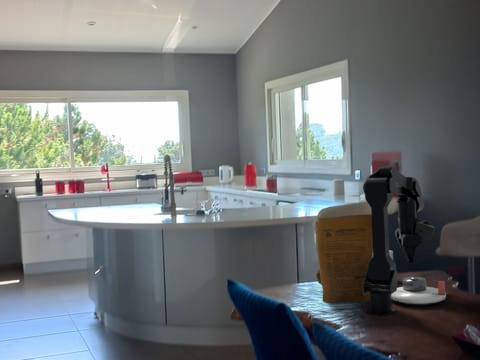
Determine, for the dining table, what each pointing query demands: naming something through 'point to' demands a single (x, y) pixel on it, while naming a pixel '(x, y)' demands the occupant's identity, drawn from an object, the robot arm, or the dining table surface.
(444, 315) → the dining table surface
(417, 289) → the cover
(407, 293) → the platter
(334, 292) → the pancake mix bag
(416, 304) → the turntable base
